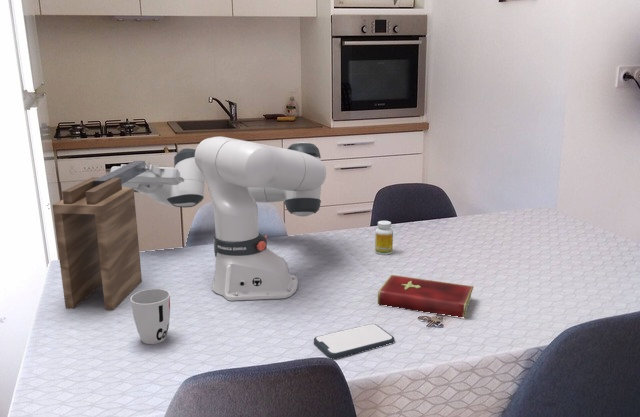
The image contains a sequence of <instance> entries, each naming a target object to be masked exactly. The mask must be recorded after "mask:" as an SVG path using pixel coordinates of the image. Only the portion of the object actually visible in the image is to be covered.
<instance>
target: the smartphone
mask: <svg viewBox="0 0 640 417" xmlns="http://www.w3.org/2000/svg"><path fill="white" fill-rule="evenodd" d="M393 342H395V337H394V336H393V335H392V334H391V333H390V332H388V331H387V330H385V329H383V328H382V327H381V326H380V325H378V324H376V323H368V324H365V325H361V326H360V325H359V326H357V327H356V326H355V327H352V328H347V329H343V330H339V331H335V332H331V333H327V334H322V335H317V336H315V337H314V339H313V344H314V346H315V347H316V348H318V349H319V351H321V352H322V353H323V355H325V356H326V357H327V358H328V357H329V358H328V359H330V358H332V359H331V360H338V359H337V358H339V359H341V358H340V357H342V358H345V357H344V356H346V357H349V356H348V355H350V356H352V355H351V354H353V355H357V354H360V353H359V352H361V353H363V352H362V351H364V352H366V351H365V350H368V351H370V350H369V349H371V350H373V349H372V348H375V349H377V348H376V347H379V346H382V347H384V346H383V345H386V344H389V343H392V344H394V343H393ZM389 345H390V344H389ZM386 346H387V345H386ZM379 348H380V347H379ZM356 353H357V354H356ZM333 358H334V359H333Z"/></svg>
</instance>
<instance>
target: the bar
mask: <svg viewBox="0 0 640 417" xmlns="http://www.w3.org/2000/svg"><path fill="white" fill-rule="evenodd" d="M120 167H121V166H120ZM146 167H147V166H146V161H145V160H134V161H132V162H129V163H128V164H126V165H125V166H123V167H121V168H119V169H117V170H115V171H113V172H111V173H110V172H109V173H106V174H104V175H102V176H101V177H100V178H98V179H96V180H94V187H96V186H98V185H100V184H102V183H104V182H106V181H108V180H110V179H112V178H121V183H122V184H123V183H125V182H127V181H129V180H130V179H132V178H134V177H136V176H138V175H140V174H141V173H143V172H145V171H146Z"/></svg>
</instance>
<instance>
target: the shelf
mask: <svg viewBox="0 0 640 417" xmlns="http://www.w3.org/2000/svg"><path fill="white" fill-rule="evenodd" d="M98 178H100V177H99V176H98V177H95V176H93V177H90V178H88V179H86V180H83V181H81V182H79V183H77V184H75V185H73V186H70V187H69V188H67V189H64V190H62V193H61V194H62V200H60V201H58V202H56V203H55V202H54V203H53V204H52V212H53V213H52V214H53V220H54V227H55V237H56V243H57V251H58V260H59V268H60V275H61V283H62V284H61V285H62V290H63V296H64V306H65V307H64V308H65V309H71V310H72V309H75V308H76V307H77V306H78V305H80V304H81V303H82V302H83V301H84V300H86V299H87V298H88V296H90V295H91V294H92V293H93V292H94V291H96V290H97V289H98V288H99V287H101V286H102V292H103V293H102V294H103V301H104V309H105V311H114V310H115V309H116V308H117V307H118V306H119V305H120V304H121V303H122V302H123V301H125V299H126V298H127V297H128V296H129V295H130V294H131V293H132V292H134V290H135V289H136V288H137V287H138V286H139V285H140V284H141V283H142V282H143V278H142V266H141V256H140V247H139V246H140V244H139V233H138V232H139V231H138V220H137V212H136V211H137V210H136V202H135V201H136V200H135V192H134V188H124V187H123V186H122V183H121V178H112V179H110V180H108V181H106V182H104V183H102V184H100V185H98V186H96V187H94V180H96V179H98Z"/></svg>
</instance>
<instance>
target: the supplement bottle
mask: <svg viewBox="0 0 640 417" xmlns="http://www.w3.org/2000/svg"><path fill="white" fill-rule="evenodd" d="M374 232H375V234H374V253H376V254H378V255H380V256H387V255H391V254H392V253H393V242H394V237H393V236H394V230H393V229H392V222H391V221H388V220H379V221H377V228H376V229H375V231H374Z"/></svg>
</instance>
